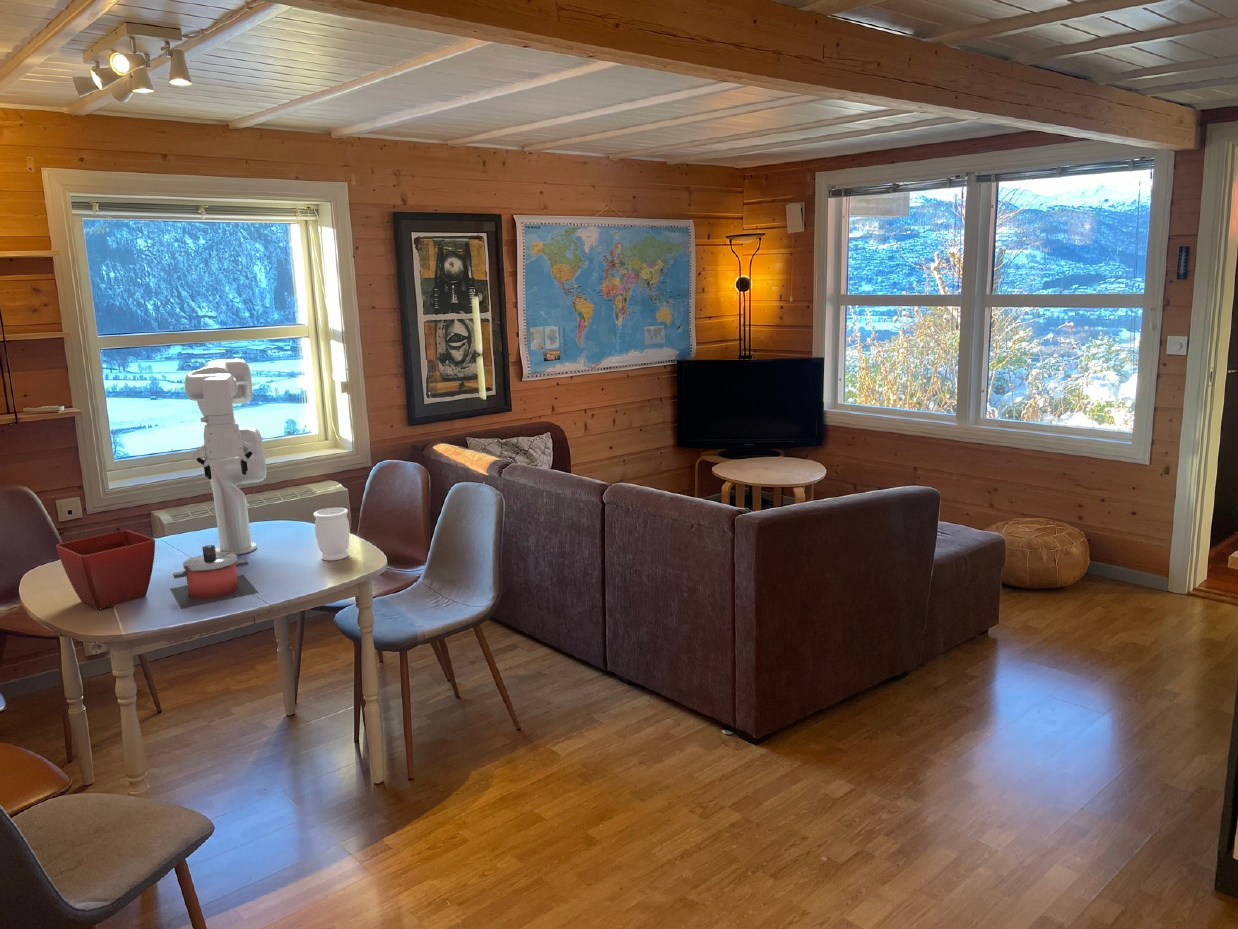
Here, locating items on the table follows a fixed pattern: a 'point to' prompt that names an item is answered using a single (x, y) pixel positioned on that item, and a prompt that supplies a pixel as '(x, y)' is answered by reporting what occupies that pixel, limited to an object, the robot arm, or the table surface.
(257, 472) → the robot arm
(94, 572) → the plant pot
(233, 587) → the pot
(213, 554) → the lid
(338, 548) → the jar
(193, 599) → the plate
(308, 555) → the table surface
